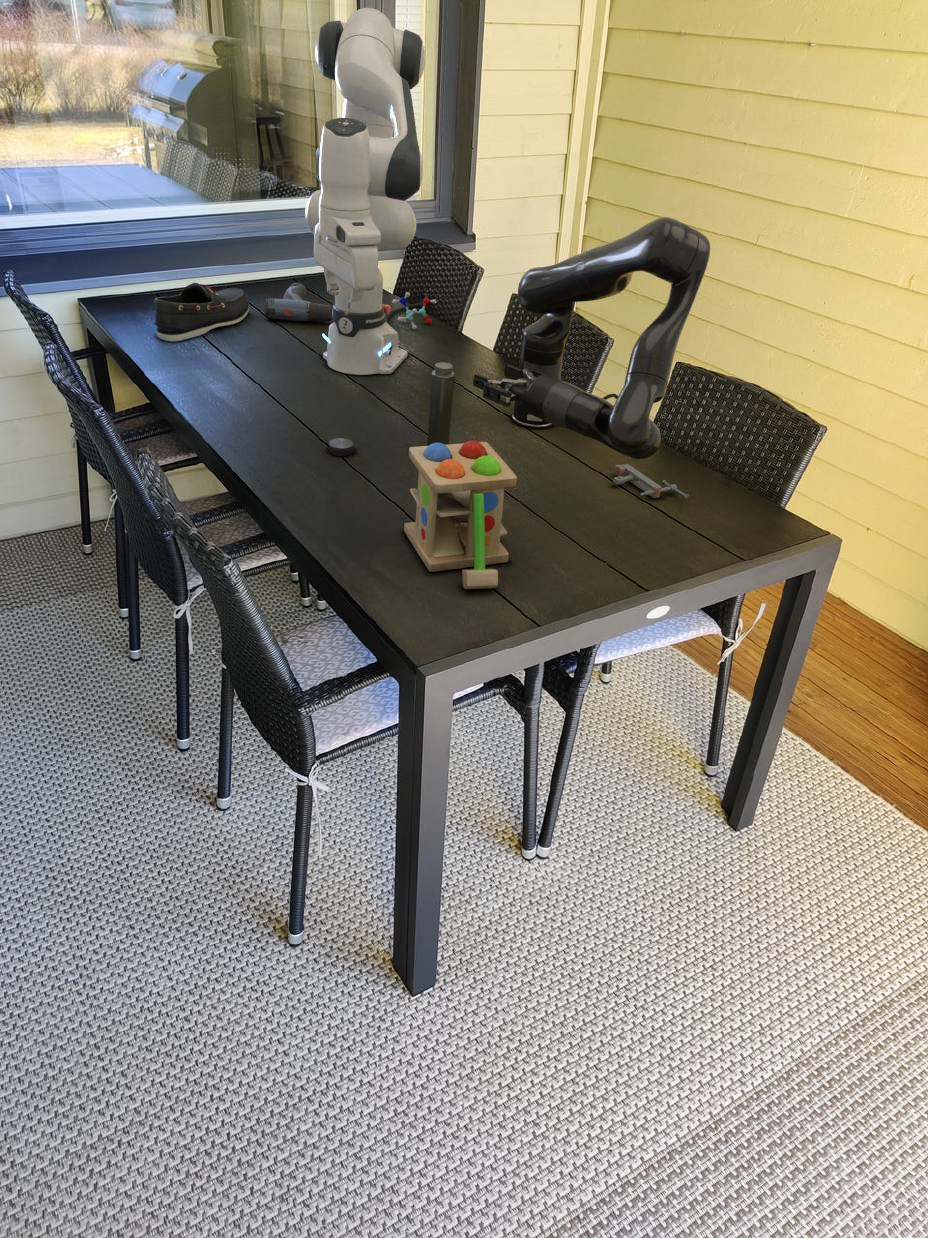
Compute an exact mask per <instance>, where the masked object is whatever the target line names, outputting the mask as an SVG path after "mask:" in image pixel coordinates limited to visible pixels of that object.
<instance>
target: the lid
mask: <svg viewBox="0 0 928 1238" xmlns="http://www.w3.org/2000/svg"><path fill="white" fill-rule="evenodd" d="M328 452H329V453H330V454H331V455H332V456H336V457H347V456H351V455H352V454H353V453H354V442H353V441H352V440H350V439H348V438H341V437H340V438H339V437H337V438H333V439H331V440H329V442H328Z"/></svg>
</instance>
